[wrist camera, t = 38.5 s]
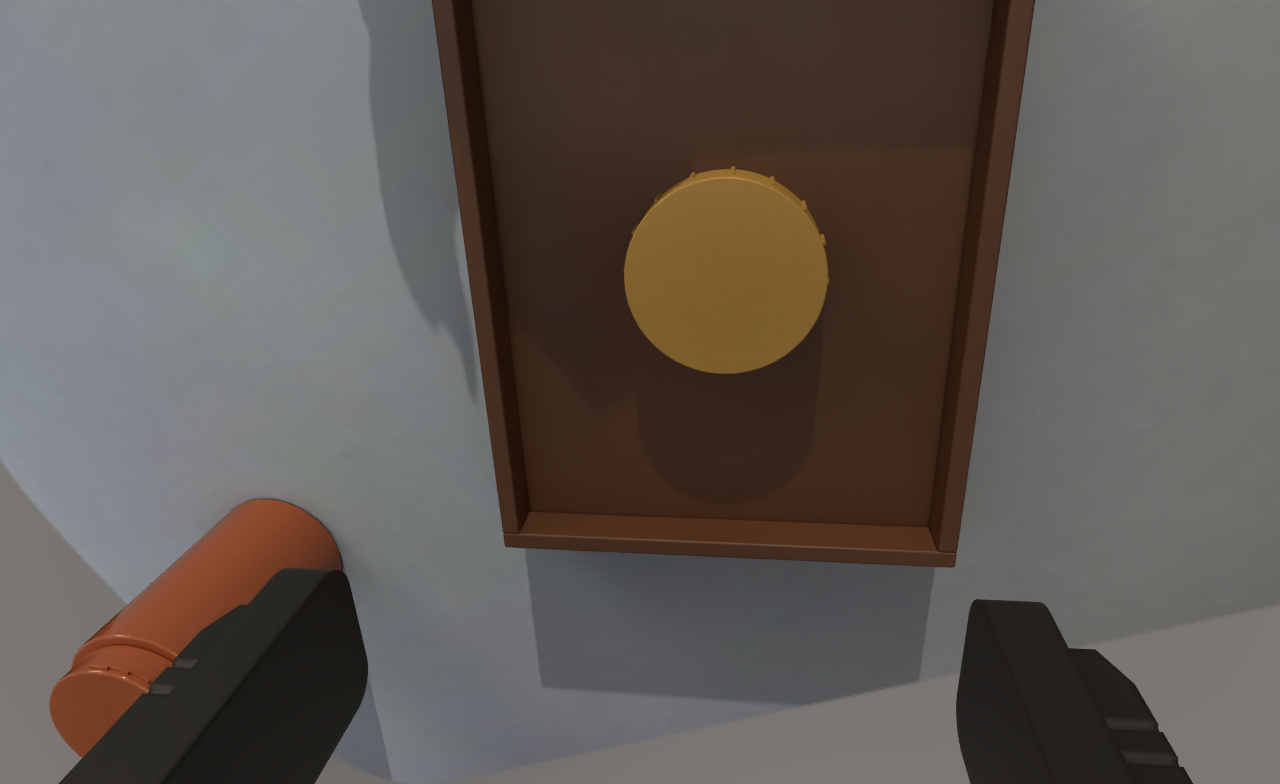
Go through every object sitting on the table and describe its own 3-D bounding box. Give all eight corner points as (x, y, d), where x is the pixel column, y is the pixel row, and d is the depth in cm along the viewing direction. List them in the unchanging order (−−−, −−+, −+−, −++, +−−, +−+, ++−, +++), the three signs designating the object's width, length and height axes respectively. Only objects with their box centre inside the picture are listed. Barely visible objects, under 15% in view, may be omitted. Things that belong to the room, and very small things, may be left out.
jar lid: (654, 145, 23) (647, 152, 22) (852, 195, 23) (858, 205, 22) (613, 330, 26) (604, 347, 25) (791, 377, 26) (793, 396, 24)
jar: (353, 607, 33) (218, 798, 25) (239, 600, 34) (71, 783, 26) (328, 500, 31) (172, 670, 23) (206, 495, 32) (13, 658, 24)
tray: (940, 528, 28) (955, 568, 26) (521, 512, 30) (504, 547, 28) (1023, -109, 20) (1053, -125, 18) (451, -70, 22) (420, -80, 20)
